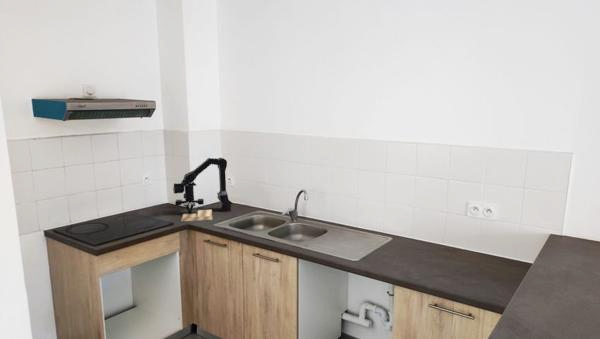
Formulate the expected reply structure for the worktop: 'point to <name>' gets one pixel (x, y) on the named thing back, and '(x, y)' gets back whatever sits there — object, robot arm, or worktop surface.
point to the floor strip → (197, 218)
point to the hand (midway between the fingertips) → (190, 214)
